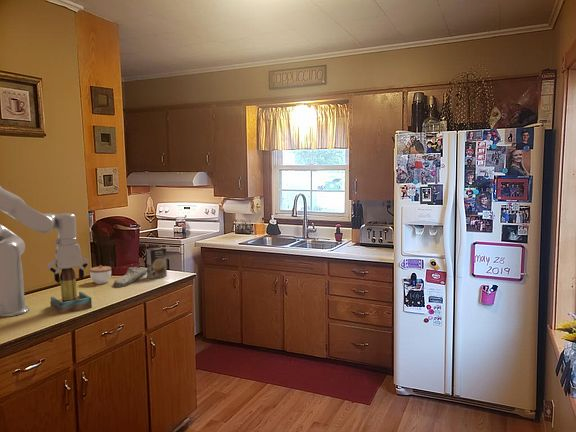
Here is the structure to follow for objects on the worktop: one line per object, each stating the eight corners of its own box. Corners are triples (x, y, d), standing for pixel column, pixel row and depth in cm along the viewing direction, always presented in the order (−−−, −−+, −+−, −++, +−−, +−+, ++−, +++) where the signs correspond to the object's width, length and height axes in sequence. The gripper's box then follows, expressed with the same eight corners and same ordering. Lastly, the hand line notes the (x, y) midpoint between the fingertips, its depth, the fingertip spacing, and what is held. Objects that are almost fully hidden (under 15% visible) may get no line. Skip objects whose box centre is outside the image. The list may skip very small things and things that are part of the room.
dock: (60, 313, 196) (59, 303, 195) (50, 306, 206) (50, 296, 206) (91, 307, 205) (91, 297, 204) (81, 300, 215) (80, 291, 214)
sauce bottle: (72, 298, 209) (69, 255, 207) (80, 301, 206) (78, 256, 204) (58, 302, 204) (55, 258, 201) (66, 304, 200) (64, 259, 198)
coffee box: (151, 279, 256) (150, 250, 254) (146, 276, 261) (145, 248, 259) (167, 276, 262) (166, 248, 260) (162, 274, 267) (161, 246, 265)
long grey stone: (108, 290, 239) (127, 291, 239) (108, 280, 238) (127, 281, 238) (134, 271, 274) (151, 272, 273) (134, 262, 273) (151, 263, 272)
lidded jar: (88, 285, 242) (87, 267, 241) (92, 280, 253) (91, 263, 252) (110, 284, 244) (109, 267, 243) (113, 279, 255) (112, 262, 254)
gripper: (48, 245, 194) (50, 285, 196) (90, 240, 205) (92, 278, 207) (43, 243, 199) (45, 282, 201) (85, 238, 211) (87, 275, 213)
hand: (69, 280), depth 204 cm, fingers open, 9 cm apart
